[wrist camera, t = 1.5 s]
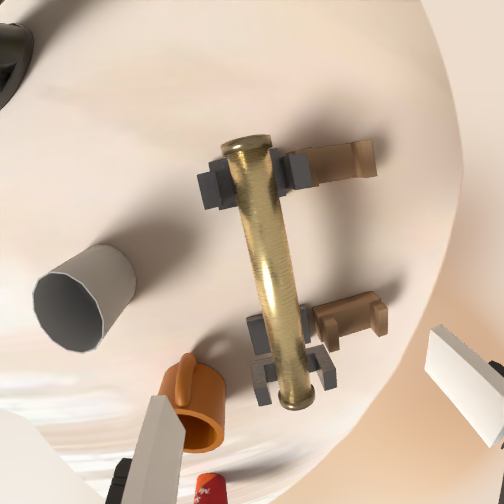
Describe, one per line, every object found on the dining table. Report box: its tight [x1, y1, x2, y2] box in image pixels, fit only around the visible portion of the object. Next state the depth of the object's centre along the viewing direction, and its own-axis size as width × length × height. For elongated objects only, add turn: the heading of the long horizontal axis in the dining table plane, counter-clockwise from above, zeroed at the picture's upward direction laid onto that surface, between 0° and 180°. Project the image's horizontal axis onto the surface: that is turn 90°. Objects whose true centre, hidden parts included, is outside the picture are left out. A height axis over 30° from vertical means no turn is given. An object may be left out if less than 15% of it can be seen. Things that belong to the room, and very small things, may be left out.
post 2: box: [246, 305, 337, 406], centre depth 29 cm, size 5×7×11 cm
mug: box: [158, 353, 226, 453], centre depth 31 cm, size 9×12×9 cm
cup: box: [32, 245, 137, 354], centre depth 26 cm, size 8×8×10 cm
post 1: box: [197, 148, 313, 210], centre depth 24 cm, size 5×7×11 cm
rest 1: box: [286, 140, 377, 188], centre depth 27 cm, size 4×8×5 cm, turn 102°
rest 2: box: [313, 291, 388, 353], centre depth 32 cm, size 4×8×5 cm, turn 102°
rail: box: [221, 134, 315, 411], centre depth 22 cm, size 24×4×4 cm, turn 12°
